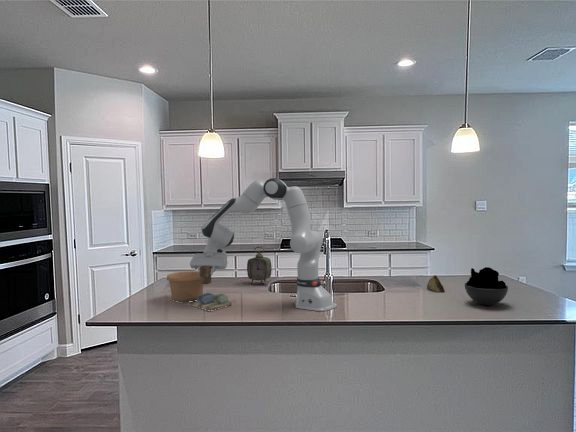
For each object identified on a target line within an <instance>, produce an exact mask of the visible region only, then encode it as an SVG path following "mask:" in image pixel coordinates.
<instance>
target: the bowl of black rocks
mask: <svg viewBox="0 0 576 432" xmlns="http://www.w3.org/2000/svg"><path fill="white" fill-rule="evenodd" d="M499 275H500V273H499V272H498V271H497V270H495V269H493V268H491V267H489V266H487V267H486V266H485V267H483V268H481V269H479V271H477V270H476V271H475V268H473V267H471V269H470V277H469V278H468V280H467V281H466V282H465V283H464V290H465V292H466V294H467V295H468V296H469V298H470V299H471V300H473V301H474V302H476V303H478V304H480V305H483V306H492V305H495V304H499V303H500V302H501V301H503V300H504V298H505V297H506V296H507V293H508V291H509V286H508V285H507V284H506V282H505V281H504V280H499Z"/></svg>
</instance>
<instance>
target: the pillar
mask: <svg viewBox="0 0 576 432" xmlns="http://www.w3.org/2000/svg"><path fill="white" fill-rule="evenodd" d="M211 270H212V269H211V266H202V267H200V284H204V285H210V284H211V283H212V275H209V271H211Z"/></svg>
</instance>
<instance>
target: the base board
mask: <svg viewBox="0 0 576 432" xmlns="http://www.w3.org/2000/svg"><path fill="white" fill-rule="evenodd" d="M232 304H233V303H232V301H230V300H229V295H228V294H224V293H220V292H219V293H217V294H214V293H210V292H205V293H203V294H200V295H197V301H195V302H191V306H192V305H194V306H197V307H200V308H203V309H206V310H205V311H207V310H210V311H209V312H212V311H211V310H214V311H216V310H215V309H218V308H221V307H225V306H228V307H230V306H229V305H232ZM197 307H196V308H197ZM200 308H199V309H200ZM225 308H226V307H225ZM203 309H202V310H203ZM221 309H222V308H221ZM218 310H219V309H218Z"/></svg>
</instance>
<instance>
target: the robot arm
mask: <svg viewBox="0 0 576 432" xmlns="http://www.w3.org/2000/svg"><path fill="white" fill-rule="evenodd" d="M266 198H270V199H271V200H275V201H283V202H284V203H285V207H286V209H287V210H286V211H287V213H288V217H289V220H290V227H291V228H290V229H291V239H290V241H289V247H290V248H291V250H292V251H293V252H294V253H296V254H300V256H299V259H298V262H297V265H296V267H297V278H296V285H297V290H296V299H295V303H294V305H295V308H296V309H301V310H302V309H303V310H307V311H308V310H309V311H315V312H326V311H330V310H333V309H335V308H336V307H338V305H337V303H335V302H333V298H332V295H331V293H330V292H329V291H327V289H325V288H324V286H323V285H322V283H323V279H322V280H320V278H319V277H320V276H319V259H320V255H321V249H322V246H323V243H324V237H323V235H322V233H321V232H319V231H316V230H313V229H311V220H312V216H311V212H310V209H309V206H308V202H307V199H306V196H305V195H304V192H303V190H302V188H301V187H299V186H296V185H295V186H288V184H287V183H286V182H284V181H283V180H281V179H279V178H276V177H271V178H269V179H266V180H265V182H264V181H262V180H260V179H259V180H258V179H256V180H254V181H252V182H251V183H250V184H249V185H248V187H247V188H246V189H244V191H243V193H242V194H241V195H239V196H238V197H235V198H231V199H229V200H228V201H227V202H226V203H225V204H224V205H222V207H220V208H219V209H218V210H217V211H216V212H215V213H214V214H213V215H212V216H211V217H209V218H208V219H207V220H206V221H205V222H204V223H203V224H202V226H201V233H202V236H204V237H206V238H207V240H206V245H205V246H204V250H203V252H202V253H198V252H197V253H195V254H193V255H192V258H191V260H190V262H189V266H190V268H191V269H192V270H193V269H194V270H197V271H199V272H198V274H199V275H200V267H202V266H211V271H209V275H211V276H213V274H214V273H215V272H216V270H226V268H227V267H228V255H227V252H226V250H225V249H223V248H227V247H229V246H230V245H232V243H234V238H235V233H234V231H233V230H232V229H230V228H228V227H226V226H224V225H223V224H221V223H220V222H221V220H222V219H224V218H225V217H226V216H227V215H228V214H229V213H232V212H234V213H240V214H241V213H242V214H250V213H253V212H255V211H256V210H257V208H258V207H259V206H260V205H261V203H262V202H263V201H264V200H265V199H266Z"/></svg>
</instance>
